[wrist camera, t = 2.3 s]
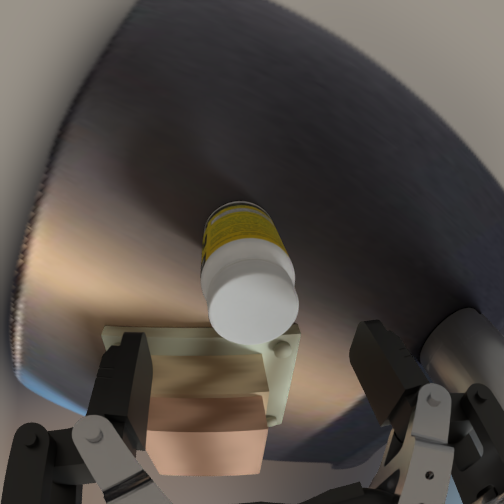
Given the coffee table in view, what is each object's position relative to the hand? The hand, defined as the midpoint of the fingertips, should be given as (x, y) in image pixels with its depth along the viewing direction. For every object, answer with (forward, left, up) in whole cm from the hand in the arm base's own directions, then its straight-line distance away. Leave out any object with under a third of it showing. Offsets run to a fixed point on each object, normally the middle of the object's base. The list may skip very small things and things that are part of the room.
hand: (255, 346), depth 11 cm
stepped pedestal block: (+3, +15, -11) cm, 19 cm away
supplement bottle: (0, 0, -11) cm, 11 cm away
